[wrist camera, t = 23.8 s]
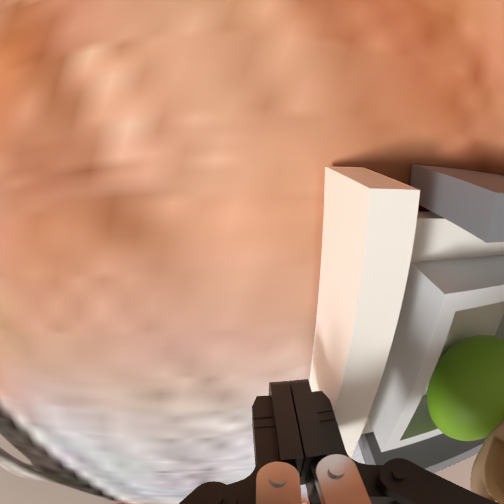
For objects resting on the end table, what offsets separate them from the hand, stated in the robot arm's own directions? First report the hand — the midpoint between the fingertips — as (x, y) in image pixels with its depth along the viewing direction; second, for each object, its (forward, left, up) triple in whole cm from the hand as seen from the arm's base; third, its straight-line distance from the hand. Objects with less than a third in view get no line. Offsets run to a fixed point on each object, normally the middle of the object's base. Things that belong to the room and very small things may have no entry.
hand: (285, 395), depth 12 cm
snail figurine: (+2, +9, -2) cm, 10 cm away
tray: (0, +10, -3) cm, 11 cm away
